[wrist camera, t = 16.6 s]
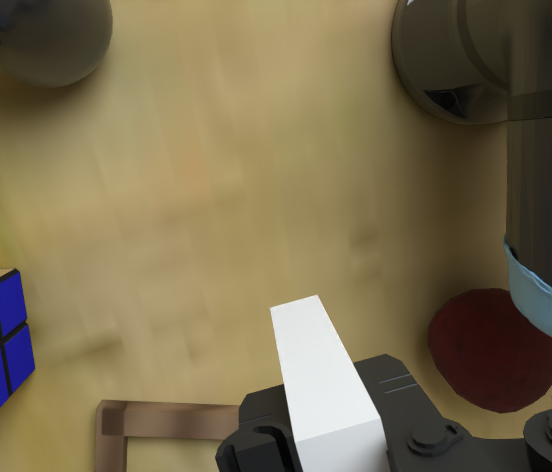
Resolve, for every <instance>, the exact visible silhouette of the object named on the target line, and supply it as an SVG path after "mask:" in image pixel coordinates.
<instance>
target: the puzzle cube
mask: <svg viewBox="0 0 552 472" xmlns="http://www.w3.org/2000/svg"><path fill="white" fill-rule="evenodd" d="M26 318H27V315H26V309H25V302H24V296H23V290H22V284H21V278H20V272H19V271H18V270H17V269H15V268H12V269H0V407H1V406H2V405H3V404H4V403H5V402H6V401H7V399H8V398H9V397H10V396H11V395H12V394H13V393H14V392H15V391H16V389H17V388H18V387H19V386H20V385H21V384H22V383H23V382H24V381H25V380H26V378H27V377H28V376H29V375H30V374H31V373H32V372H33V371H34V370H35V365H34V358H33V352H32V346H31V340H30V334H29V327H28V324H27V323H25V322H24V321H25V320H26Z"/></svg>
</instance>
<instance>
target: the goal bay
mask: <svg viewBox="0 0 552 472" xmlns="http://www.w3.org/2000/svg"><path fill="white" fill-rule="evenodd" d="M239 407H240V406H233V405H210V404H187V403H163V402H140V401H117V400H102V401H101V403H100V405H99V407H98V409H97V412H96V455H95V472H126V467H127V441H128V436H140V437H167V438H195V439H222V440H225V439H226V438H227V437H228V436H229V435H231V434H232V433H234V432H235V431H237V430H238V429H239Z"/></svg>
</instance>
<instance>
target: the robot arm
mask: <svg viewBox="0 0 552 472" xmlns="http://www.w3.org/2000/svg"><path fill="white" fill-rule="evenodd" d="M392 51H393V58H394V62H395V66H396V69H397V72H398V74H399V77H400V79H401V81H402V83H403V85H404V86H405V88H406V90H407V91H408V93H409V94H410V95H411V97H412V98H413V99H414V100H415V101H416V102H417V103H418V104H419V105H420V106H421V107H422V108H424V109H425V110H426V111H428V112H429V113H431V114H432V115H434V116H436V117H438V118H440V119H442V120H445V121H448V122H452V123H456V124H463V125H477V124H488V123H495V122H500V121H503V120H507V214H506V233H505V236H504V241H503V242H504V243H503V246H504V250H505V253H506V256H507V262H508V280H509V291H510V295H511V298H512V300H513V302H514V304H515V306H516V307H517V308H518V310H519V311H520V312H521V313H522V314H523V315H524V316H525V317H527V318H528V319H529V321H530V322H531V323H532V324H533V325H534V326H535V327H537V328H538V329H540V330H541V331H543V332H544V333H546V334H547V335H549V336H551V337H552V0H399V2H398V4H397V7H396V11H395V15H394V20H393V26H392ZM542 117H543V118H542ZM531 118H533V119H531ZM523 119H524V120H523ZM270 310H271V316H272V321H273V327H274V332H275V338H276V343H277V348H278V354H279V359H280V365H281V370H282V376H283V381H284V384H282V385H279V386H275V387H271V388H268V389H264V390H261V391H257V392H254V393H250V394H247V395H246V397H245V399H244V400H243V402H242V404H241V405H240V407H239V429H238V430H237V431H235V432H234V433H232V434H231V435H229V436H228V437H227V438H226V439H225V440H224V441H223V443H222V444H221V445H220V446H219V448H218V450H217V453H216V456H215V459H216V462H217V465H218V468H219V472H552V409H550V410H547V411H543V412H540V413H537V414H535V415H534V416H533V417H531V418H530V419H529V420H528V421H526V424H525V427H524V430H523V434H524V438H518V439H482V438H477V437H472V435H471V434H470V433H469V432H468V431H467V430H466V429H465V428H464V427H463V426H461V425H460V424H459V423H457V422H454V421H452V420H449V419H446V418H443V417H442V415H441V414H440V412H439V411H438V410H437V408H436V407H435V406H434V404H433V403H432V402H431V400H430V399H429V398H428V396H427V395H426V394H425V392H424V391H423V390H422V388H421V387H420V386H419V384H417V382H416V380H415V379H414V378H413V376H412V375H410V372H409V371H408V370H407V368H406V367H405V366H404V364H403V363H402V361H400V360H398V359H396V358H394V357H392V356H389V355H387V354H383V355H380V356H376V357H373V358H369V359H366V360H362V361H358V362H355V363H352V361H351V359H350V357H349V356H348V354H347V352H346V350H345V348H344V346H343V344H342V342H341V340H340V338H339V336H338V334H337V332H336V330H335V328H334V326H333V324H332V322H331V321H330V319H329V317H328V315H327V313H326V311H325V309H324V307H323V305H322V303H321V301H320V299H319V297H318V295H315V296H311V297H307V298H304V299H300V300H296V301H293V302H289V303H286V304H282V305H278V306H275V307H271V308H270Z"/></svg>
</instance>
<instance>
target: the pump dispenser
mask: <svg viewBox="0 0 552 472" xmlns="http://www.w3.org/2000/svg"><path fill="white" fill-rule="evenodd" d="M112 27H113V17H112V9H111V4H110V0H0V73H2V74H4V75H6V76H8V77H10V78H12V79H14V80H16V81H19V82H22V83H25V84H28V85H32V86H37V87H46V88H52V87H61V86H66V85H69V84H72V83H74V82H77V81H79V80H81V79H82V78H84V77H85V76H87V75H88V74H89V73H91V72H92V71H93V70H94V69H95V68H96V67H97V65H98V64H99V63H100V62H101V60H102V59H103V57H104V55H105V53H106V51H107V49H108V46H109V43H110V40H111V35H112Z"/></svg>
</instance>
